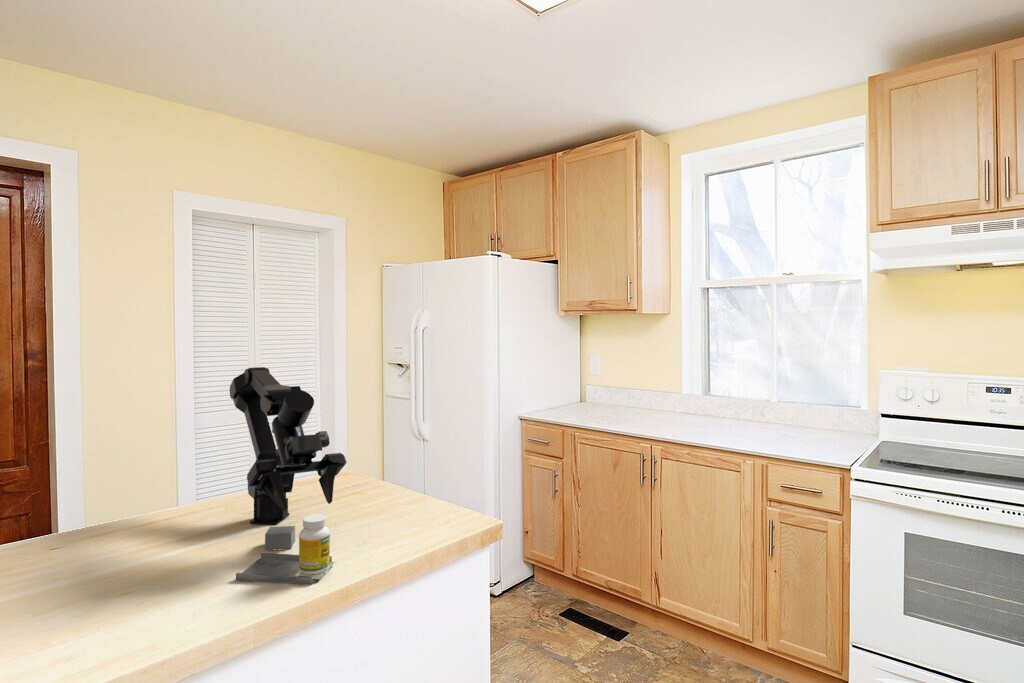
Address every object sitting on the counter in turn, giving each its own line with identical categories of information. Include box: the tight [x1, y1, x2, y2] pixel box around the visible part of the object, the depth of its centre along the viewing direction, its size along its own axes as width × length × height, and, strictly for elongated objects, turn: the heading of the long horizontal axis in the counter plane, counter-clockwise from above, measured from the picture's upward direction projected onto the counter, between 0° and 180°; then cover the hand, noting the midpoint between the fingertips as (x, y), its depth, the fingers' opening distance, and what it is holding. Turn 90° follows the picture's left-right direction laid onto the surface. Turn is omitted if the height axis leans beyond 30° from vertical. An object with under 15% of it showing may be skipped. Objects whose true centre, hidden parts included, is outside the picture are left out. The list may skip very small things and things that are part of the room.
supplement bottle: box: [298, 514, 331, 575], centre depth 103 cm, size 5×5×10 cm
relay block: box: [264, 525, 296, 551], centre depth 115 cm, size 5×4×4 cm
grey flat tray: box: [235, 552, 336, 585], centre depth 104 cm, size 15×9×1 cm, turn 86°
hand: (308, 506), depth 111 cm, fingers open, 9 cm apart
